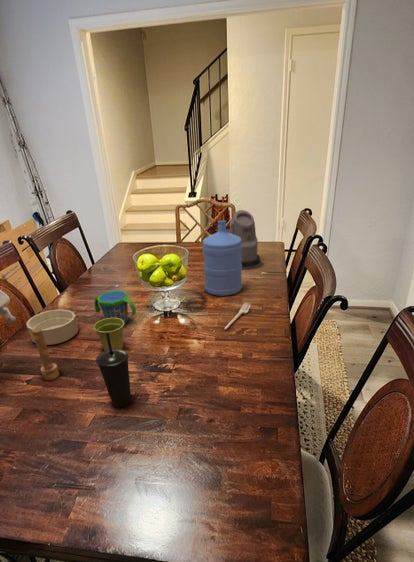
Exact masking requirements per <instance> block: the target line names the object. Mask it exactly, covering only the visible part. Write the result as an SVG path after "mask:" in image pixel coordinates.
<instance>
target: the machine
mask: <svg viewBox="0 0 414 562" xmlns="http://www.w3.org/2000/svg"><path fill="white" fill-rule="evenodd" d="M226 232H228V233H231V234H233V235H235V236H238V237H240V238H241V240H242V261H241V263H242V270H251V269H257V268H259V267H261V266H262V265H263V264H262V262H261V256H260V255H259V254H258V237H257V234H256V222H255V219H254V216H253V215H252V214H251V213H250V212H249V211H248V210H244V209H238V210H237V211H235V212H234V214H233V217H232V218H231V220H230V221H229V228H226Z"/></svg>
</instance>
